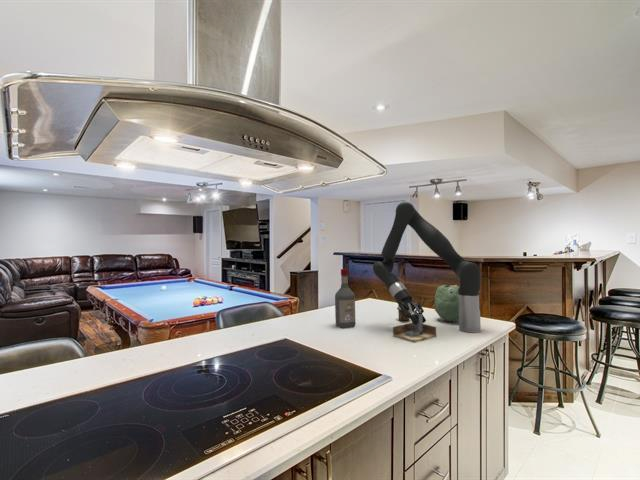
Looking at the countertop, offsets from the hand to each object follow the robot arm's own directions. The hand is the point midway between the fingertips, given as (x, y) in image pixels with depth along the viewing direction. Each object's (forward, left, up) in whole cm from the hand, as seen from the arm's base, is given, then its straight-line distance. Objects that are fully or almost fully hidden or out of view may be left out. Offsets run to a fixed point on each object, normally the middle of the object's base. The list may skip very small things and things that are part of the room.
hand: (420, 322), depth 147 cm
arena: (+2, -2, -7) cm, 7 cm away
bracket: (+3, -2, -6) cm, 6 cm away
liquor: (+14, -38, -7) cm, 41 cm away
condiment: (-19, -27, -7) cm, 34 cm away
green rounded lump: (-37, -11, -7) cm, 39 cm away
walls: (+2, -2, -7) cm, 7 cm away
